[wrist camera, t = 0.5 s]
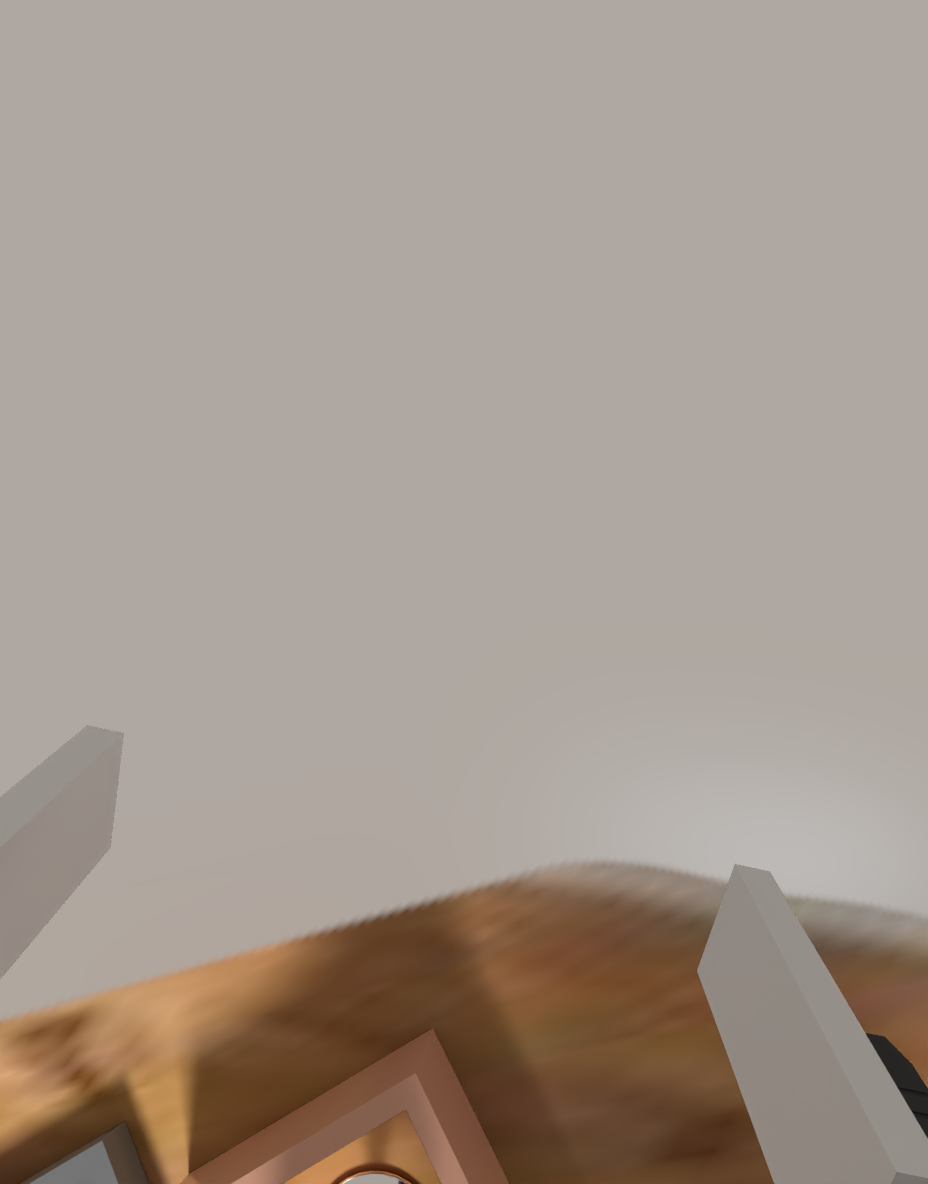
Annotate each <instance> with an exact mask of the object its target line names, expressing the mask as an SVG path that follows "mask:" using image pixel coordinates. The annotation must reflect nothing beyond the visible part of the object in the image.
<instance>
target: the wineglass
mask: <svg viewBox="0 0 928 1184" xmlns="http://www.w3.org/2000/svg"><path fill="white" fill-rule="evenodd" d="M338 1184H412V1183H410V1182H409V1181H407V1180H406V1179H404V1178H402V1177H400V1176H398V1175H396V1174H393V1173H389V1172H386V1171H374V1170H371V1171H365V1172H359V1173H357V1174H354V1175H352V1176H349V1177H347V1178H346V1179H344V1180H343V1181H341V1182H340V1183H338Z"/></svg>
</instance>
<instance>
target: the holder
mask: <svg viewBox="0 0 928 1184" xmlns="http://www.w3.org/2000/svg"><path fill="white" fill-rule="evenodd" d="M404 1110H406V1111H407V1113H408V1115H409V1117H410V1119H411V1121H412V1123H413V1125H414V1128H415V1130H416V1132H417V1134H418V1136H419V1138H420V1140H421V1142H422V1144H423V1147H424V1149H425V1151H426V1153H427V1155H428V1157H429V1159H430V1161H431V1164H432V1166H433V1168H434V1170H435V1172H436V1174H437V1176H438V1178H439V1180H440V1183H441V1184H509V1182H508V1180H507V1178H506V1176H505V1174H504V1172H503V1170H502V1168H501V1166H500V1164H499V1162H498V1160H497V1157H496V1155H495V1153H494V1151H493V1149H492V1147H491V1145H490V1143H489V1141H488V1139H487V1137H486V1135H485V1133H484V1131H483V1129H482V1127H481V1125H480V1123H479V1121H478V1119H477V1117H476V1115H475V1113H474V1111H473V1109H472V1107H471V1105H470V1103H469V1101H468V1099H467V1097H466V1095H465V1093H464V1091H463V1088H462V1086H461V1084H460V1082H459V1080H458V1078H457V1076H456V1074H455V1072H454V1070H453V1068H452V1066H451V1064H450V1062H449V1060H448V1058H447V1056H446V1054H445V1052H444V1050H443V1048H442V1046H441V1044H440V1042H439V1040H438V1038H437V1036H436V1034H435V1032H434V1030H433V1028H432V1029H430V1030H429V1031H427V1032H425V1033H424V1034H422V1035H420V1036H419V1037H417V1038H415V1039H414V1040H412V1041H410V1042H409V1043H407V1044H405V1045H404V1046H402V1047H400V1048H399V1049H397V1050H395V1051H394V1052H392V1053H390V1054H389V1055H387V1056H385V1057H384V1058H382V1059H380V1060H379V1061H377V1062H375V1063H374V1064H372V1065H370V1066H369V1067H367V1068H365V1069H363V1070H362V1071H360V1072H358V1073H357V1074H355V1075H353V1076H352V1077H350V1078H348V1079H347V1080H345V1081H343V1082H342V1083H340V1084H338V1085H337V1086H335V1087H333V1088H332V1089H330V1090H328V1091H327V1092H325V1093H323V1094H322V1095H320V1096H318V1097H317V1098H315V1099H313V1100H312V1101H310V1102H308V1103H307V1104H305V1105H303V1106H302V1107H300V1108H298V1109H297V1110H295V1111H293V1112H292V1113H290V1114H288V1115H287V1116H285V1117H283V1118H282V1119H280V1120H278V1121H276V1122H275V1123H273V1124H271V1125H270V1126H268V1127H266V1128H265V1129H263V1130H261V1131H260V1132H258V1133H256V1134H255V1135H253V1136H251V1137H250V1138H248V1139H246V1140H245V1141H243V1142H241V1143H240V1144H238V1145H236V1146H235V1147H233V1148H231V1149H230V1150H228V1151H226V1152H225V1153H223V1154H221V1155H220V1156H218V1157H216V1158H215V1159H213V1160H211V1161H210V1162H208V1163H206V1164H205V1165H203V1166H201V1167H200V1168H198V1169H196V1170H195V1171H193V1172H191V1173H189V1174H188V1175H187V1176H186V1177H185V1179H184V1180H183V1181H182V1182H181V1183H180V1184H283V1183H285V1182H286V1181H288V1180H290V1179H291V1178H293V1177H295V1176H296V1175H298V1174H300V1173H301V1172H303V1171H304V1170H306V1169H308V1168H309V1167H311V1166H313V1165H314V1164H316V1163H318V1162H319V1161H321V1160H323V1159H324V1158H326V1157H328V1156H329V1155H331V1154H333V1153H334V1152H336V1151H338V1150H339V1149H341V1148H343V1147H344V1146H346V1145H348V1144H349V1143H351V1142H353V1141H354V1140H356V1139H358V1138H359V1137H361V1136H363V1135H364V1134H366V1133H368V1132H369V1131H371V1130H373V1129H374V1128H376V1127H378V1126H379V1125H381V1124H383V1123H384V1122H386V1121H388V1120H389V1119H391V1118H393V1117H394V1116H396V1115H398V1114H399V1113H401V1112H403V1111H404Z"/></svg>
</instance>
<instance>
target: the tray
mask: <svg viewBox="0 0 928 1184" xmlns="http://www.w3.org/2000/svg"><path fill="white" fill-rule="evenodd" d="M19 1184H149V1183H148V1180H147V1177H146V1175H145V1172H144V1169H143V1167H142V1164H141V1162H140V1159H139V1156H138V1154H137V1151H136V1149H135V1146H134V1143H133V1141H132V1138H131V1135H130V1133H129V1130H128V1128H127V1125H126V1122H125V1121H124V1122H122V1123H121V1124H119V1125H117V1126H116V1127H114V1128H112V1129H110V1130H109V1131H107V1132H105V1133H104V1134H102V1135H100V1136H99V1137H97V1138H95V1139H94V1140H92V1141H90V1142H88V1143H87V1144H85V1145H83V1146H82V1147H80V1148H78V1149H77V1150H75V1151H73V1152H72V1153H70V1154H68V1155H67V1156H65V1157H63V1158H61V1159H60V1160H58V1161H56V1162H55V1163H53V1164H51V1165H50V1166H48V1167H46V1168H45V1169H43V1170H41V1171H40V1172H38V1173H36V1174H34V1175H33V1176H31V1177H29V1178H28V1179H26V1180H24V1181H23V1182H21V1183H19Z"/></svg>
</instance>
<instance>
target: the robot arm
mask: <svg viewBox="0 0 928 1184" xmlns="http://www.w3.org/2000/svg"><path fill="white" fill-rule="evenodd" d="M123 735H124V733H121V732H116V731H111V730H106V729H102V728H97V727H93V726H86V727H85V728H84V729H82V730H81V731H80V732H79V733H78V734H76V735H75V736H74V737H73V738H72V739H70V740H69V741H68V742H67V743H65V744H64V745H63V746H62V747H61V748H59V749H58V750H57V751H56V752H54V753H53V754H52V755H51V756H50V757H48V758H47V759H46V760H45V761H44V762H43V763H41V764H40V765H39V766H37V767H36V768H35V769H34V770H33V771H31V772H30V773H29V774H28V775H27V776H25V777H24V778H23V779H22V780H20V781H19V782H18V783H17V784H16V785H15V786H13V787H12V788H11V789H10V790H8V791H7V792H6V793H5V794H4V795H2V796H1V797H0V979H1V978H2V977H3V976H4V974H5V973H6V972H7V971H8V970H9V968H10V967H11V966H12V965H13V964H14V962H15V961H16V960H17V959H18V958H19V956H20V955H21V954H22V953H23V952H24V950H25V949H26V948H27V947H28V946H29V944H30V943H31V942H32V941H33V940H34V938H35V937H36V936H37V935H38V934H39V932H40V931H41V930H42V929H43V927H44V926H45V925H46V924H47V923H48V922H49V920H50V919H51V918H52V917H53V916H54V915H55V913H56V912H57V911H58V910H59V909H60V907H61V906H62V905H63V904H64V903H65V901H66V900H67V899H68V897H69V896H70V895H71V894H72V893H73V892H74V891H75V889H76V888H77V887H78V886H79V885H80V883H81V882H82V881H83V880H84V879H85V877H86V876H87V875H88V874H89V873H90V871H91V870H92V869H93V868H94V866H95V865H96V864H97V863H98V862H99V861H100V859H101V858H102V857H103V856H104V855H105V853H106V852H107V851H108V850H109V849H110V847H111V838H112V830H113V822H114V812H115V804H116V796H117V787H118V779H119V770H120V761H121V753H122V744H123ZM697 972H698V975H699V978H700V981H701V983H702V986H703V989H704V992H705V994H706V997H707V1000H708V1003H709V1005H710V1008H711V1011H712V1014H713V1016H714V1019H715V1022H716V1025H717V1027H718V1030H719V1033H720V1036H721V1038H722V1041H723V1044H724V1047H725V1050H726V1052H727V1055H728V1058H729V1061H730V1063H731V1066H732V1069H733V1072H734V1074H735V1077H736V1080H737V1083H738V1085H739V1088H740V1091H741V1094H742V1096H743V1099H744V1102H745V1105H746V1107H747V1110H748V1113H749V1116H750V1118H751V1121H752V1124H753V1127H754V1129H755V1132H756V1135H757V1138H758V1140H759V1143H760V1146H761V1149H762V1152H763V1154H764V1157H765V1160H766V1163H767V1165H768V1168H769V1171H770V1174H771V1176H772V1179H773V1182H774V1184H928V1089H927V1087H926V1085H925V1084H924V1082H923V1081H922V1079H921V1078H920V1076H919V1074H918V1073H917V1071H916V1070H915V1068H914V1066H913V1065H912V1064H911V1063H910V1062H909V1061H908V1060H907V1059H906V1058H905V1057H904V1056H903V1055H902V1054H901V1053H900V1052H899V1051H898V1050H897V1049H896V1048H895V1047H894V1046H893V1045H892V1044H891V1043H890V1042H889V1041H888V1040H887V1039H886V1038H885V1037H882V1036H878V1035H873V1034H868V1033H865V1032H864V1030H863V1029H862V1027H861V1025H860V1023H859V1022H858V1020H857V1018H856V1017H855V1015H854V1013H853V1012H852V1010H851V1008H850V1007H849V1005H848V1003H847V1001H846V1000H845V998H844V996H843V995H842V993H841V991H840V990H839V988H838V986H837V985H836V983H835V981H834V979H833V978H832V976H831V974H830V973H829V971H828V969H827V968H826V966H825V964H824V963H823V961H822V959H821V957H820V956H819V954H818V952H817V951H816V949H815V947H814V946H813V944H812V942H811V941H810V939H809V937H808V935H807V934H806V932H805V930H804V929H803V927H802V925H801V924H800V922H799V920H798V919H797V917H796V915H795V914H794V912H793V910H792V908H791V907H790V905H789V903H788V902H787V900H786V898H785V897H784V895H783V893H782V892H781V890H780V888H779V886H778V885H777V883H776V882H775V880H774V878H773V876H772V875H771V873H770V872H768V871H764V870H759V869H755V868H750V867H745V866H741V865H736V864H735V866H734V868H733V871H732V874H731V877H730V879H729V882H728V885H727V888H726V891H725V894H724V896H723V899H722V902H721V905H720V908H719V910H718V913H717V916H716V919H715V922H714V925H713V927H712V930H711V933H710V936H709V939H708V941H707V944H706V947H705V950H704V953H703V955H702V958H701V961H700V964H699V967H698V970H697Z"/></svg>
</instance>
